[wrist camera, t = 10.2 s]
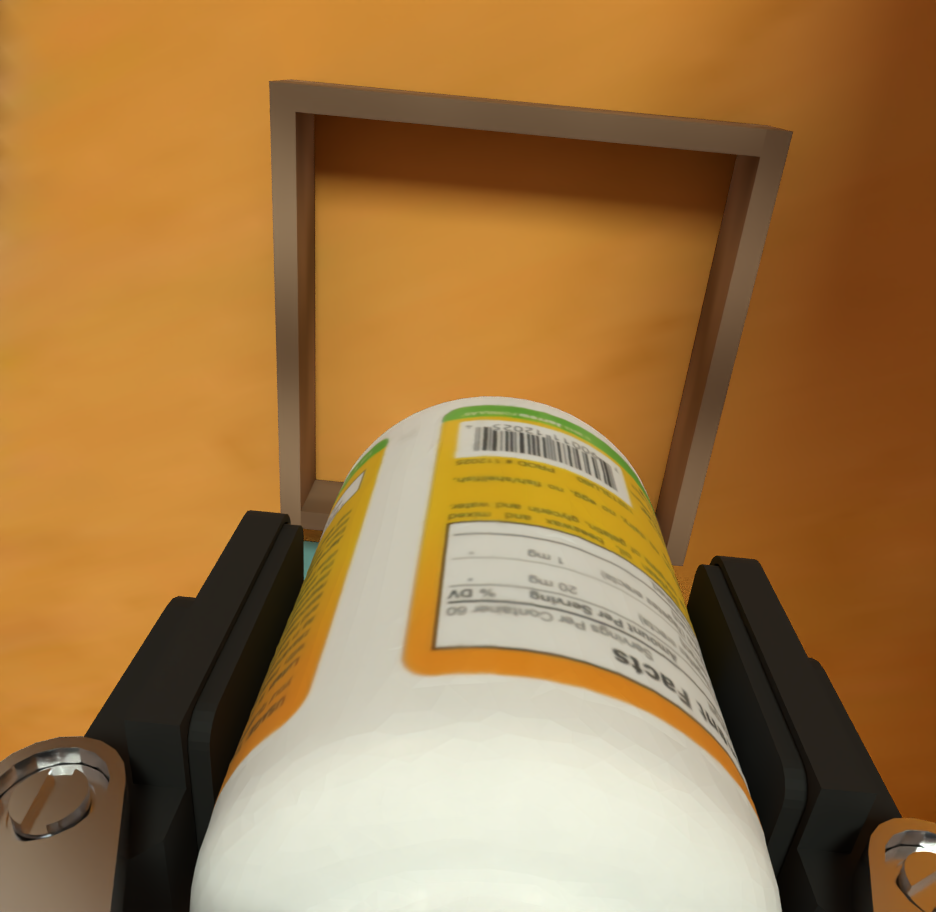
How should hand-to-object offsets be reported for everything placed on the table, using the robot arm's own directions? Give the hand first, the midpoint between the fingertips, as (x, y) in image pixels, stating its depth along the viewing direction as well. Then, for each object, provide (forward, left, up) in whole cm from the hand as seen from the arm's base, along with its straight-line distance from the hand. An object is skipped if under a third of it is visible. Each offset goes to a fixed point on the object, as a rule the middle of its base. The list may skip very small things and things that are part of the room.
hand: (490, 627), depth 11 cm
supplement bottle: (0, 0, -3) cm, 3 cm away
